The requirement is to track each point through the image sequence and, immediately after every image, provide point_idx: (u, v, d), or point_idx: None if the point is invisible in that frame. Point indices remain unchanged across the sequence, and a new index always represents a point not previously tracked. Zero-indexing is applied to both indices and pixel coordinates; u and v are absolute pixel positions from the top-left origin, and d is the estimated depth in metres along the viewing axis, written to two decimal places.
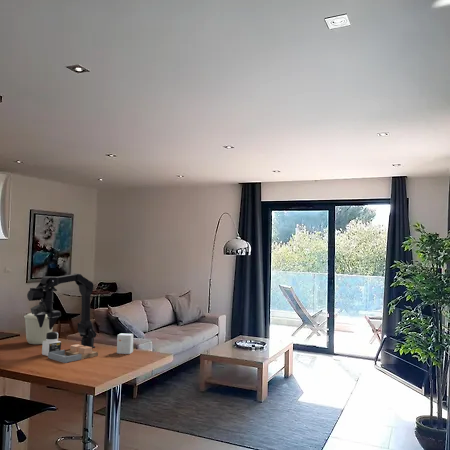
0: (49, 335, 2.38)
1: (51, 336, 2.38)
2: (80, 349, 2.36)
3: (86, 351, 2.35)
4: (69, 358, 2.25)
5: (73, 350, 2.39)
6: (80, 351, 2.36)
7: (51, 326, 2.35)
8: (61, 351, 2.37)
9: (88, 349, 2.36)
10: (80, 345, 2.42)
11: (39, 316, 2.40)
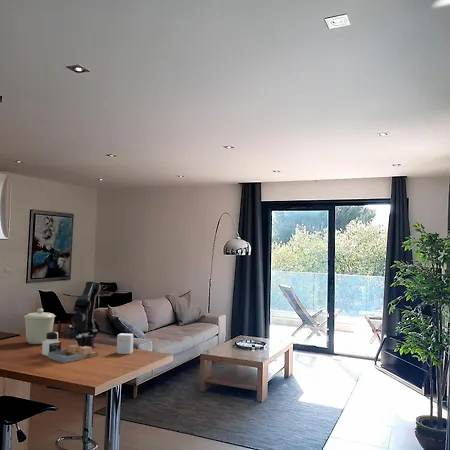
0: (49, 335, 2.38)
1: (51, 336, 2.38)
2: (80, 349, 2.36)
3: (86, 351, 2.35)
4: (69, 358, 2.25)
5: (71, 351, 2.38)
6: (80, 351, 2.36)
7: None
8: (61, 351, 2.37)
9: (88, 349, 2.36)
10: (78, 345, 2.41)
11: None
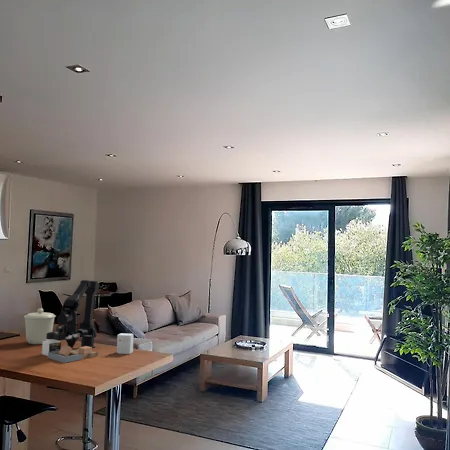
0: (49, 335, 2.38)
1: (51, 336, 2.38)
2: (80, 349, 2.36)
3: (86, 351, 2.35)
4: (69, 358, 2.25)
5: None
6: (80, 351, 2.36)
7: None
8: None
9: (88, 349, 2.36)
10: (66, 348, 2.34)
11: None
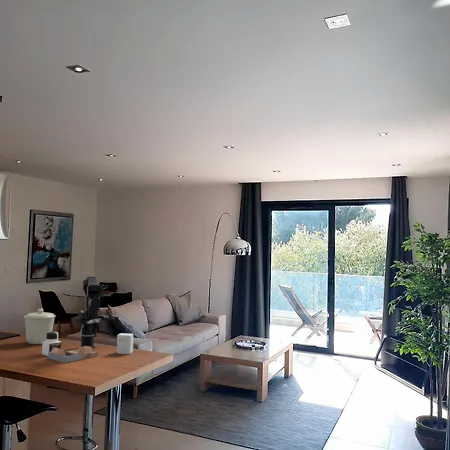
0: (49, 335, 2.38)
1: (51, 336, 2.38)
2: (80, 349, 2.36)
3: (86, 351, 2.35)
4: (69, 358, 2.25)
5: None
6: (80, 351, 2.36)
7: (90, 332, 2.42)
8: None
9: (88, 349, 2.36)
10: None
11: None
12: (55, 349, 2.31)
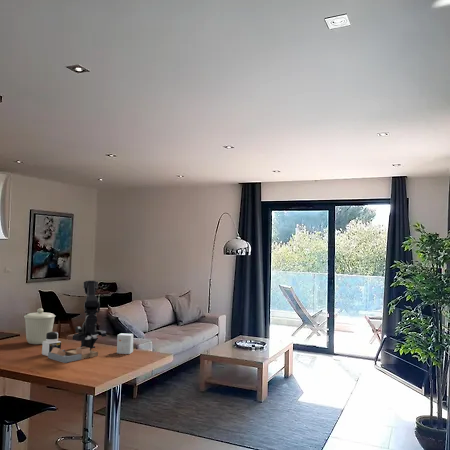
0: (49, 335, 2.38)
1: (51, 336, 2.38)
2: (78, 349, 2.35)
3: (84, 351, 2.34)
4: (69, 358, 2.25)
5: None
6: (78, 351, 2.35)
7: None
8: None
9: (86, 349, 2.35)
10: None
11: None
12: (55, 349, 2.31)
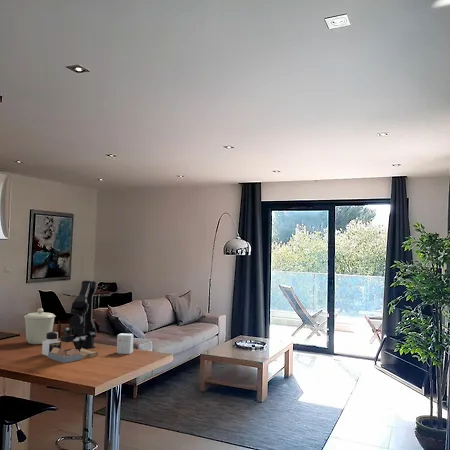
0: (49, 335, 2.38)
1: (51, 336, 2.38)
2: (67, 355, 2.29)
3: None
4: (69, 358, 2.25)
5: None
6: None
7: None
8: None
9: (75, 353, 2.29)
10: None
11: None
12: (55, 349, 2.31)
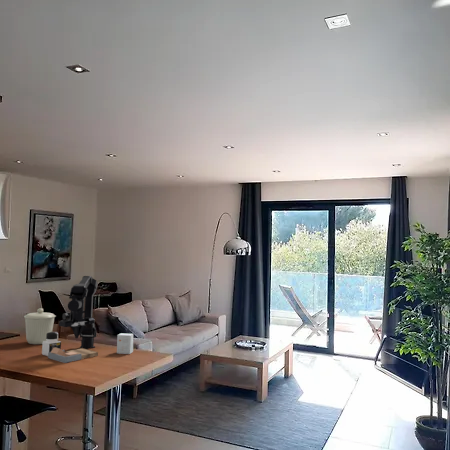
0: (49, 335, 2.38)
1: (51, 336, 2.38)
2: (66, 355, 2.29)
3: None
4: (69, 358, 2.25)
5: None
6: None
7: (75, 335, 2.32)
8: None
9: None
10: None
11: None
12: (55, 349, 2.31)
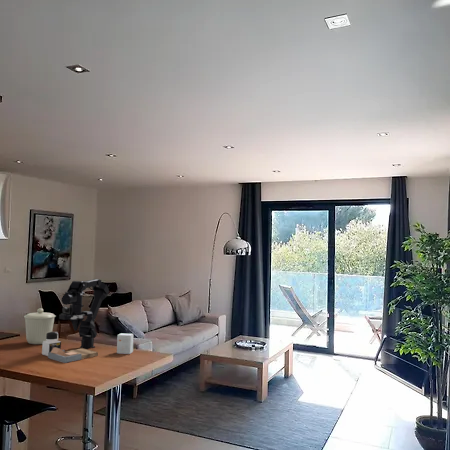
0: (49, 335, 2.38)
1: (51, 336, 2.38)
2: (66, 355, 2.29)
3: None
4: (69, 358, 2.25)
5: None
6: None
7: (74, 327, 2.48)
8: None
9: None
10: None
11: None
12: (55, 349, 2.31)
